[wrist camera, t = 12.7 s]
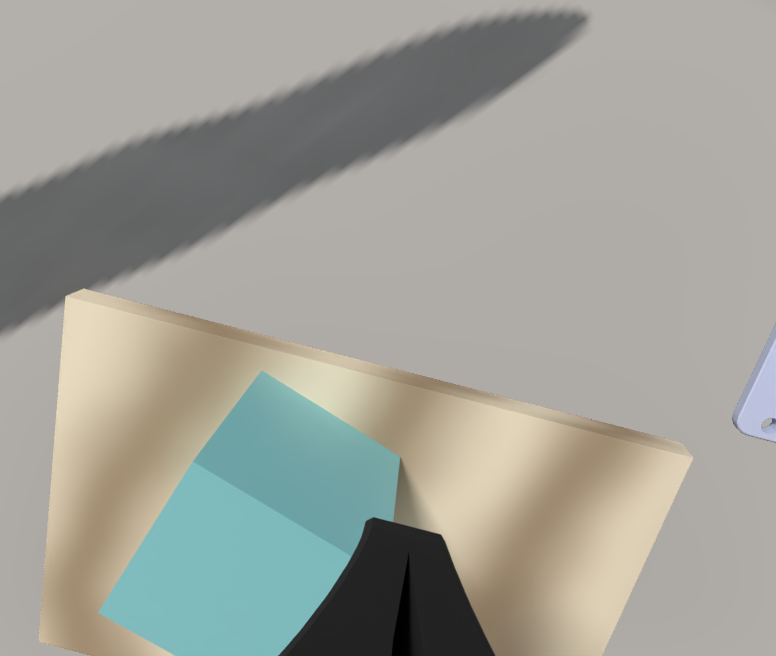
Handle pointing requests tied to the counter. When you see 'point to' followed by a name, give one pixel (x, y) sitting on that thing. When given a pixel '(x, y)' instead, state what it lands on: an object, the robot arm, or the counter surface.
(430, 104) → the counter surface
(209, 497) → the teal foam cube
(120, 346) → the board
